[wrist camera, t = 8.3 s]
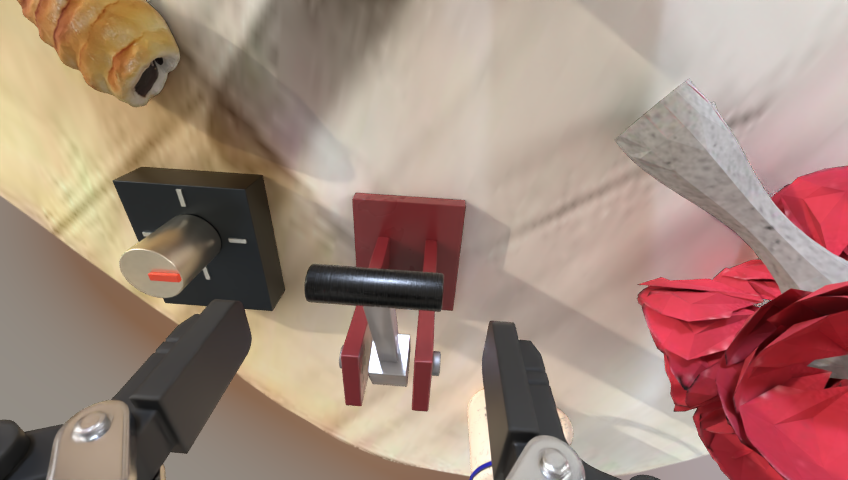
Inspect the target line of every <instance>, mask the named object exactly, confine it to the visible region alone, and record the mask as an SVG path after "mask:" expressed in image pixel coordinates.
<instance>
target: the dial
mask: <svg viewBox="0 0 848 480" xmlns="http://www.w3.org/2000/svg"><path fill="white" fill-rule="evenodd" d="M220 249H221V240H220V237H219V235H218V233H217V231H216V230H215V229H214V228H213V227H212V226H211V225H210V224H209V223H208V222H206V221H205V220H203V219H201V218H199V217H196V216H193V215H178V216H175V217H174V218H172V219H171V220H169V221H168V222H167V223H165V224H164V225H162V226H161V227H160V228H158V229H157V230H155V231H154V232H153V233H151V234H150V235H148V236H147V237H146V238H144V239H143V240H141V241H140V242H139V243H137V244H136V245H134V246H133V247H131V248H130V249H129V250H127V251H126V252H124V253H123V255H122V256H121V258H120V262H119V264H120V269H121V272H122V274H123V276H124V277H125V278H126V280H127V281H128V282H129V283H130V284H131V285H132V286H134V287H135V288H136V289H138V290H140V291H141V292H143V293H145V294H148V295H150V296H154V297H159V298H169V297H173V296H176V295H177V294H179V293H180V292H181V291H182V290H183V289H184V288H185V287H186V286H187V285H188V284H189V283H190V282H191V281H192V280H193V279H194V278H195V277H196V276H197V275H198V274H199V273H200V272H201V271H202V270H203V269H204V268H205V267H206V266H207V265H208V264H209V263H210V262H211V261H212V260H213V259H214V257H215V256H216V255H217V254H218V253H219V252H220Z"/></svg>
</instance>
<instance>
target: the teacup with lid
mask: <svg viewBox="0 0 848 480" xmlns="http://www.w3.org/2000/svg"><path fill="white" fill-rule="evenodd" d="M556 408H557V407H556ZM557 412H558V415H559V419H560V421H561V424H562V429H563V433H564V436H565V438H566V440H567V442H568V444H569V446H570V445H571V443H572V440H573V428H572V424H571V422H570V420H569V418H568V417H567V416H566V414H565V413H564V412H563V411H561V410H560V409H559V408H557ZM468 427H469V445H470V462H471V476H470V479H469V480H493V471H492V461H491V452H490V442H489V432H488V423H487V413H486V403H485V394H484V389H483V390H481V391H479V392H478V393H476V394H475V395H474V396H473V397H472V398H471V400H470V401H469V404H468Z"/></svg>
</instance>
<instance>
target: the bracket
mask: <svg viewBox="0 0 848 480" xmlns="http://www.w3.org/2000/svg"><path fill="white" fill-rule="evenodd" d="M352 200H353V217H354V234H355V251H356V267H364V268H378V269H392V270H406V271H420V272H434V273H443V275H444V290H443V303H442V310H450V311H453V305H454V297H455V289H456V281H457V273H458V265H459V257H460V249H461V241H462V233H463V225H464V217H465V208H466V205H465V200H453V199H439V198H424V197H409V196H395V195H380V194H365V193H355V195H354V197H353V199H352ZM434 319H435V311H423V310H419V316H418V327H417V338H416V349H415V359H414V377H413V395H412V410H415V411H428V409H429V398H430V388H431V377H432V375H433V376H439V373H440V357H441V354H440V352H438V351H433V346H434ZM372 340H373V339H372V335H371V332H370V329H369V325H368V322H367V319H366V315H365V312H364V309H363V306H356V308H355V311H354V315H353V318H352V321H351V324H350V327H349V330H348V333H347V337H346V340H345V343H344V345H343V346H342V348H341V352H340V357H339V366H340V368H342V374H343V384H344V393H345V403H346V405H352V406H362V403H363V398H364V394H365V389H366V385H367V380H368V366H369V360H370V353H371V346H372Z"/></svg>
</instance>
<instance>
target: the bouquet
mask: <svg viewBox="0 0 848 480" xmlns="http://www.w3.org/2000/svg"><path fill="white" fill-rule="evenodd" d="M615 141H616V143H617V144H618V145H619V147H620V148H621V149H622V150H623V151H624V152H625V153H626V155H627V156H628V157H629V158H631V159H632V160H633V161H634V162H635V163H636V164H637V165H638V166H639V167H641V168H642V169H643V170H644V171H646V172H647V173H648V174H650V175H651V176H652V177H654V178H655V179H657V180H658V181H659V182H661V183H662V184H664V185H665V186H667V187H668V188H670V189H672V190H673V191H675V192H676V193H678V194H679V195H681V196H683V197H684V198H686V199H688V200H689V201H691V202H692V203H694V204H696V205H697V206H699V207H700V208H702V209H704V210H705V211H707V212H708V213H710V214H711V215H713V216H715V217H716V218H717V219H719V220H720V221H721V222H723V223H724V224H725V225H727V226H728V227H729V228H731V229H732V230H733V231H735V232H736V233H737V234H738V235H739V236H740V237H741V238H742V239H743V240H744V241H745V242H746V243H747V244H748V245H749V246H750V247H751V248H752V249H753V251H754V252H755V253H756V254H757V255H758V257H759V258H760V260H750V261H747V262H745V263H742V264H740V265H737V266H735V267H732V268H730V269H729V268H725V269H723V270H722V271H721V272H720V273H719V274H718V275H716V276H715V277H714V278H713V280H711V279H694V280H673V281H670V280H668V279H665V278H662V277H660V278H657V279H654V280H651V281H647V282H644V283H641V284H637V285H648V287H647V288H645V289H643V290H642V291H641V292H640V293H639V294H638V298H637V300H638V303H639V304H640V305H642V310H643V313H644V316H645V319H646V322H647V325H648V328H649V329H650V333H651V335H652V338H653V340H654V342H655V345H656V347H657V349H659V350H660V351H661V352H662V353H664V361H665V371H666V373H667V376H668V378H669V380H670V382H671V392H670V394H671V397H672V399H673V401H674V404H675V408H674V411H688V410H691V409H694V408H697V410H696V412H695V414H694V416H693V420H694V423H695V425H696V428H697V431H698V435H699V437H700V438H701V440H702V442H703V443H704V445H705V447H706V448H707V450H708V452H709V453H710V455H711V457H712V458H713V459H714V460H715V461H716V462H717V463H718V465H719V467H720V469H721V470H722V472H723V473H724V474H725V475H726V476H727V477H728V478H729V479H730V480H848V166H842V167H835V168H827V169H823V170H820V171H817V172H814V173H810V174H807V175H804V176H801V177H798V178H797V179H796V180H795V181H794V182H793V183H792V184H790V185H786V186H785V187H784V188H782V189H781V190H780V191H779V192H777V193H776V194H775V195H774V196H772V197H771V198H770V197H769V195H768V194H767V192H766V191H765V190H764V188H763V187H762V185H761V183H760V181H759V180H758V178H757V176H756V174H755V173H754V171H753V169H752V167H751V166H750V164H749V162H748V160H747V158H746V156H745V154H744V153H743V151H742V149H741V147H740V145H739V144H738V142H737V140H736V138H735V137H734V135H733V133H732V132H731V130H730V128H729V127H728V125H727V124H726V123H725V121H724V120H723V118H722V117H721V115H720V114H719V112H718V110H717V107H716V104H715V102H712V103H711V102H710V101H709V100H708V99H707V98H706V97H705V96H704V95H703V94H702V93H701V92H700V91H699V90H698V89H697V88H696V87H695V86H694V84H693V83H692V82H691V80H690V79H688V80H686V81H685V82H684V83H682V84H681V85H680V86H678V87H677V88H676V89H675V90H673V91H672V92H671V93H670V94H668V95H667V96H666V97H665V98H663V99H662V100H661V101H660V102H658V103H657V104H656V105H655V106H654V107H652V108H651V109H650V110H649V111H647V112H646V113H645V114H644V115H643V116H641V117H640V118H639V119H638V120H637V121H636V122H634V123H633V124H632V125H631V126H630V127H628V128H627V129H626V130H625V131H624V132H623V133H622V134H620V135H619V136H618V137H617V138H616V139H615ZM762 299H768V300H771V301H770V302H768V303H766V304H765V305H763V306H762V307H760V308H759V307H756V306H753V305H755V304H758V303H762V302H764V301H763V300H762Z"/></svg>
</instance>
